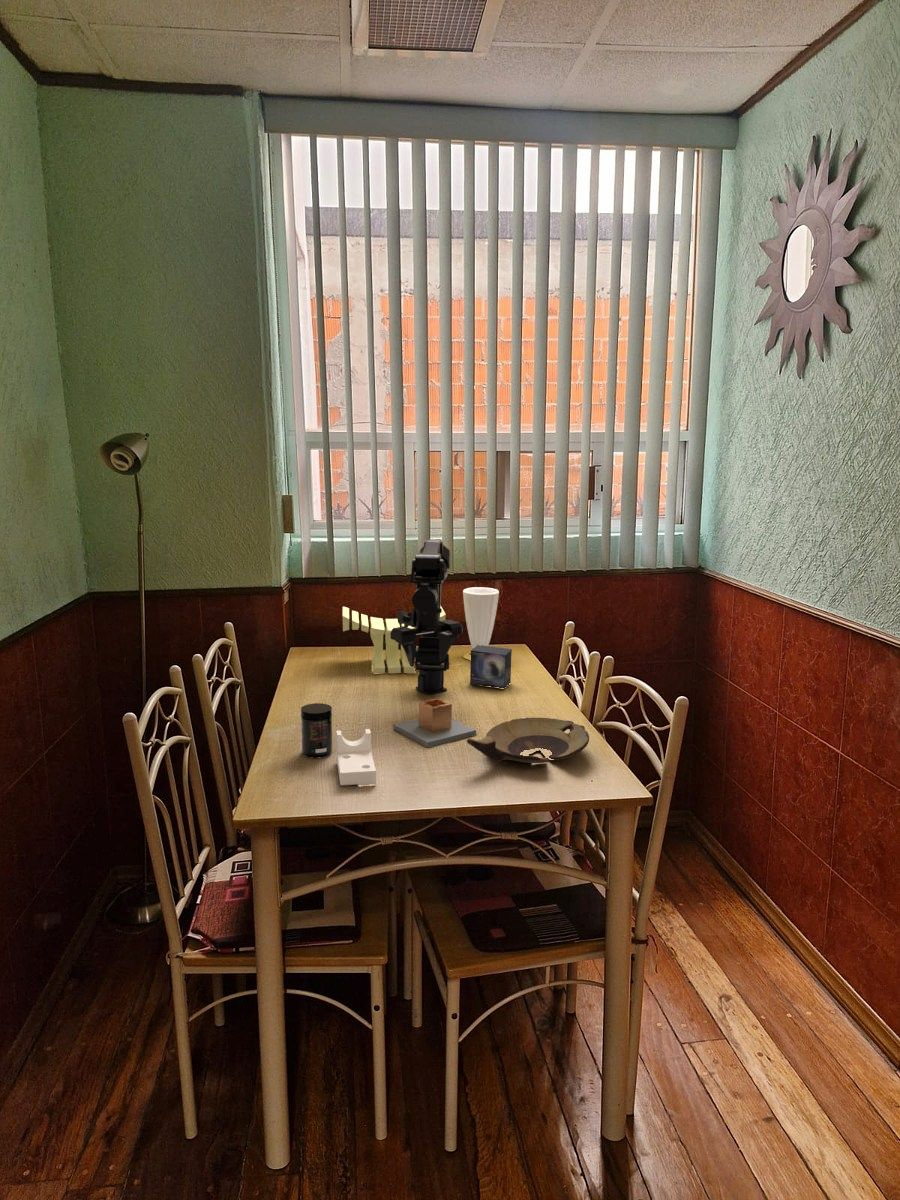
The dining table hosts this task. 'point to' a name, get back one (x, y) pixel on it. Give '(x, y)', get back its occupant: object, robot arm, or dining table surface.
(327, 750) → the supplement container
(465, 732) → the stand
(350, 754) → the bracket
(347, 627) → the slatted curved stool
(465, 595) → the cup
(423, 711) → the hollow wooden cube
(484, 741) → the oil lamp
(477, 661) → the small box
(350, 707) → the dining table surface
